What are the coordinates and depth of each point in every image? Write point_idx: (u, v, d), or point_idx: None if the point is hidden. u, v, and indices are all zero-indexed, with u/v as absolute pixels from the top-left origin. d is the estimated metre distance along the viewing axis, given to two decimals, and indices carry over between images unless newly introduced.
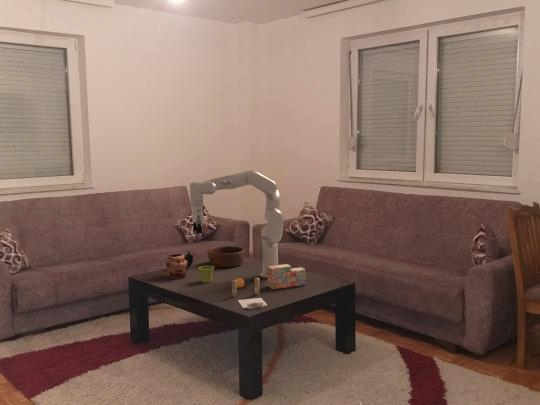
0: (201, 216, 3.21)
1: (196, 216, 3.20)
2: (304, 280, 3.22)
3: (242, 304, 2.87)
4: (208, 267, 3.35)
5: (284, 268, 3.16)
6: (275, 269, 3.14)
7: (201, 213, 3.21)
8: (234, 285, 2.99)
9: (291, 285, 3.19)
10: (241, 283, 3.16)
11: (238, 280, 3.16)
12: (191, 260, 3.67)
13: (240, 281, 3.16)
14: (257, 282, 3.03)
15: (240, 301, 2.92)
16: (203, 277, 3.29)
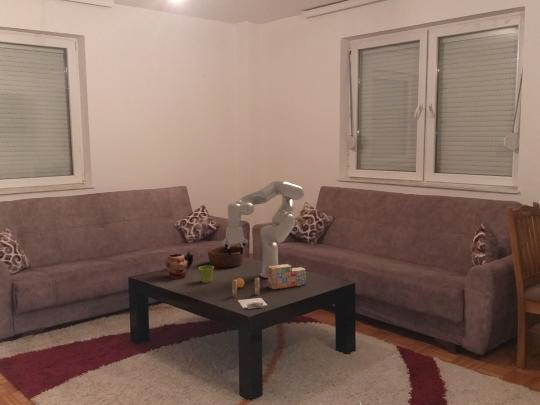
0: None
1: (243, 236, 3.24)
2: (304, 280, 3.22)
3: (242, 304, 2.87)
4: (208, 267, 3.35)
5: (284, 268, 3.16)
6: (275, 269, 3.14)
7: None
8: (234, 285, 2.99)
9: (291, 285, 3.19)
10: (241, 283, 3.16)
11: (238, 280, 3.16)
12: (191, 260, 3.67)
13: (240, 281, 3.16)
14: (257, 282, 3.03)
15: (240, 301, 2.92)
16: (203, 277, 3.29)
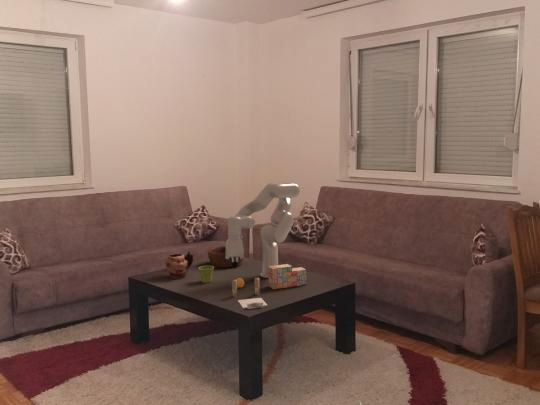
0: None
1: None
2: (305, 280, 3.22)
3: (242, 304, 2.87)
4: (208, 267, 3.35)
5: (285, 268, 3.16)
6: (276, 269, 3.14)
7: None
8: (234, 285, 2.99)
9: (292, 285, 3.19)
10: (241, 283, 3.16)
11: (238, 280, 3.16)
12: (191, 260, 3.67)
13: (240, 281, 3.16)
14: (257, 282, 3.03)
15: (240, 301, 2.92)
16: (203, 277, 3.29)
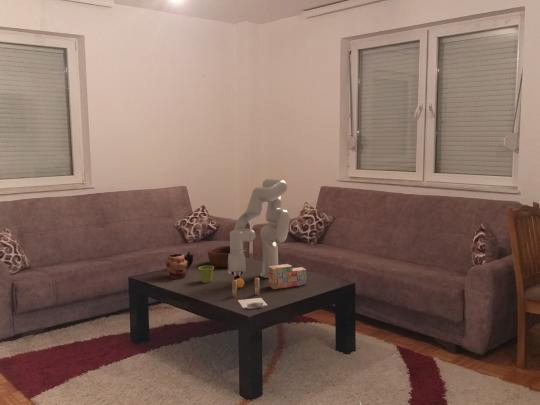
0: None
1: (245, 263, 3.21)
2: (305, 280, 3.22)
3: (242, 304, 2.87)
4: (208, 267, 3.35)
5: (285, 268, 3.16)
6: (276, 269, 3.14)
7: None
8: (234, 285, 2.99)
9: (292, 285, 3.19)
10: (241, 283, 3.16)
11: (238, 280, 3.16)
12: (191, 260, 3.67)
13: (240, 281, 3.16)
14: (257, 282, 3.03)
15: (240, 301, 2.92)
16: (203, 277, 3.29)
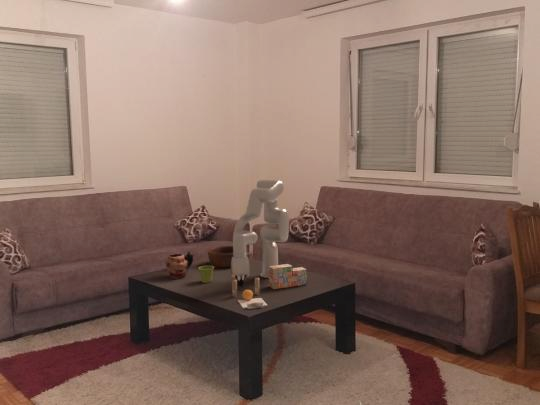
0: None
1: None
2: (305, 280, 3.22)
3: (242, 304, 2.87)
4: (208, 267, 3.35)
5: (285, 268, 3.16)
6: (277, 269, 3.14)
7: None
8: (234, 285, 2.99)
9: (292, 285, 3.19)
10: None
11: (246, 299, 2.94)
12: (191, 260, 3.67)
13: None
14: (257, 282, 3.03)
15: (240, 301, 2.92)
16: (203, 277, 3.29)
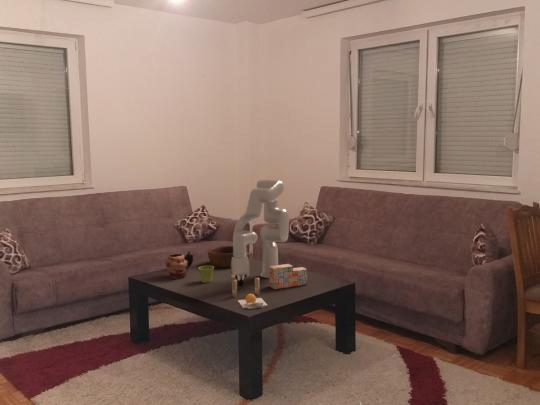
0: None
1: None
2: (306, 280, 3.22)
3: (242, 304, 2.87)
4: (208, 267, 3.35)
5: (286, 268, 3.16)
6: (277, 269, 3.14)
7: None
8: (234, 285, 2.99)
9: (293, 285, 3.19)
10: (251, 294, 2.87)
11: None
12: (191, 260, 3.67)
13: None
14: (257, 282, 3.03)
15: (240, 301, 2.92)
16: (203, 277, 3.29)
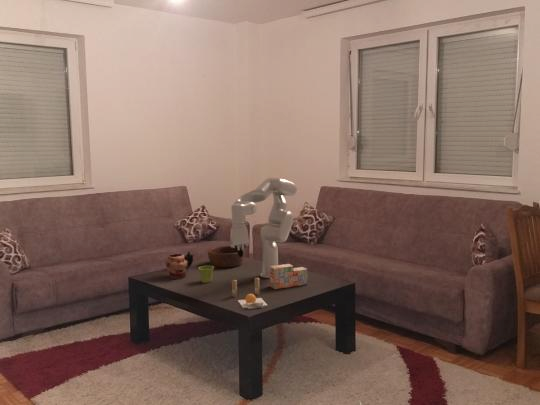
0: None
1: None
2: (306, 279, 3.23)
3: (242, 304, 2.87)
4: (208, 267, 3.35)
5: (286, 268, 3.16)
6: (278, 269, 3.14)
7: None
8: (234, 285, 2.99)
9: (293, 285, 3.20)
10: (251, 294, 2.87)
11: None
12: (191, 260, 3.67)
13: None
14: (257, 282, 3.03)
15: (240, 301, 2.92)
16: (203, 277, 3.29)
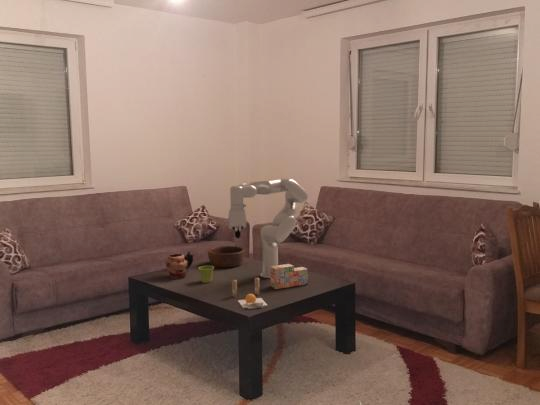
0: None
1: (245, 218, 3.25)
2: (306, 279, 3.23)
3: (242, 304, 2.87)
4: (208, 267, 3.35)
5: (287, 268, 3.16)
6: (278, 269, 3.14)
7: None
8: (234, 285, 2.99)
9: (294, 285, 3.20)
10: (251, 294, 2.87)
11: None
12: (191, 260, 3.67)
13: None
14: (257, 282, 3.03)
15: (240, 301, 2.92)
16: (203, 277, 3.29)
